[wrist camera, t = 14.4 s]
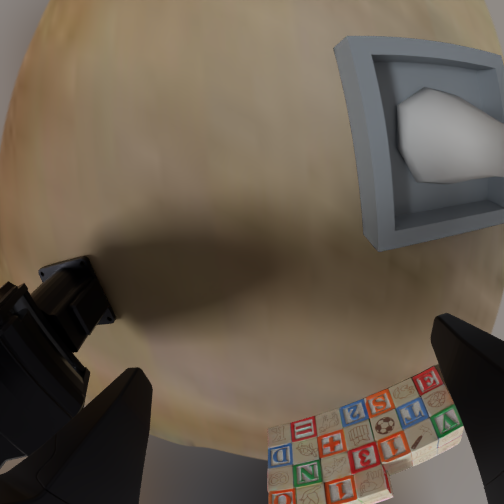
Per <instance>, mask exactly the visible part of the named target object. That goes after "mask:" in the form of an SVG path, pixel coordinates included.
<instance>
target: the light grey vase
mask: <svg viewBox="0 0 504 504" xmlns="http://www.w3.org/2000/svg"><path fill="white" fill-rule="evenodd" d="M397 148H398V150H399V152H400V153H401V155H402V157H403V159H404V160H405V162H406V164H407V166H408V168H409V170H410V171H411V173H412V175H413V177H414V179H415V181H416V182H420V183H434V184H445V185H447V184H454V183H458V182H463V181H467V180H472V179H480V178H487V177H494V176H498V177H504V124H503V123H501V122H499V121H498V120H496V119H495V118H493V117H491V116H490V115H488V114H486V113H485V112H483V111H481V110H480V109H478V108H476V107H475V106H473V105H472V104H470V103H469V102H467V101H465V100H464V99H462V98H460V97H458V96H456V95H454V94H451V93H447V92H443V91H440V90H436V89H432V88H427V87H423V88H422V89H420V90H419V91H417V92H416V93H414V94H413V95H412V96H410V97H409V98H407V99H406V100H404V101H403V102H401V103H400V104H399V105H397Z"/></svg>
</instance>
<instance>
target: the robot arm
mask: <svg viewBox="0 0 504 504" xmlns="http://www.w3.org/2000/svg"><path fill="white" fill-rule="evenodd" d="M83 262H84V263H85V264H84V263H83ZM39 275H40V278H41V280H42V282H43V283H42V284H41V285H40V286H39V287H38V288H37V289H36V290H35V291H34V292H33V293H32V294H31V295H30V293H29V292H28V288H27V286H26V285H25V283H23V284H21V285H20V286H18V287H17V286H16V285H13V284H12V283H10V282H9V281H8V282H7V283H6V284H4V285H3V286H2V287H1V288H0V468H1V467H2V466H3V465H4V463H5V462H6V461H8V460H12V459H18V458H22V457H26V456H28V457H27V458H26V459H24V460H23V461H22V462H20V463H19V464H18V465H16V466H15V467H13V468H12V469H11V470H9V471H8V472H6V473H4V474H1V475H0V504H139V495H140V488H141V481H142V474H143V467H144V461H145V455H146V448H147V443H148V436H149V430H150V417H151V404H152V392H153V389H152V385H151V383H150V381H149V380H148V378H147V377H146V375H145V374H144V372H143V371H142V369H140V368H138V367H136V368H127V369H126V370H125V371H124V372H123V373H122V374H121V375H120V376H118V377H117V378H116V379H115V380H114V381H113V382H112V383H111V384H110V385H109V386H108V387H106V388H105V389H104V390H103V391H102V392H101V393H100V394H99V395H98V396H97V397H95V398H94V399H93V400H92V401H91V402H90V403H89V404H88V405H87V406H86V407H84V403H85V397H86V392H87V386H88V381H89V377H90V371H89V370H88V369H87V368H86V367H84V366H83V365H82V364H81V362H80V361H79V360H78V359H77V358H76V357H75V355H74V354H73V353H74V352H78V350H79V349H80V347H81V346H82V344H83V342H84V341H85V339H86V338H87V336H88V335H90V334H91V333H92V331H93V329H94V328H95V326H96V325H101V324H111V323H114V321H115V320H116V316H115V314H114V312H113V310H112V308H111V306H110V304H109V302H108V300H107V298H106V296H105V294H104V292H103V290H102V288H101V286H100V284H99V281H98V279H97V277H96V275H95V273H94V270H93V268H92V266H91V264H90V261H89V259H88V258H87V257H85V256H83V257H79V258H75V259H71V260H67V261H64V262H60V263H56V264H53V265H49V266H45V267H42V268H41V269H40V270H39ZM110 317H111V318H110ZM431 344H432V347H433V349H434V352H435V355H436V357H437V360H438V363H439V366H440V369H441V372H442V375H443V378H444V380H445V383H446V386H447V388H448V390H449V393H450V395H451V397H452V399H453V402H454V404H455V406H456V409H457V411H458V413H459V416H460V418H461V421H462V423H463V426H464V428H465V431H466V433H467V436H468V439H469V442H470V445H471V447H472V450H473V453H474V456H475V459H476V462H477V465H478V468H479V471H480V475H481V478H482V481H483V485H484V489H485V493H486V497H487V500H488V504H504V341H502V340H501V339H498V338H497V337H495V336H493V335H491V334H489V333H487V332H485V331H483V330H481V329H479V328H477V327H475V326H473V325H471V324H469V323H467V322H465V321H463V320H461V319H459V318H457V317H455V316H453V315H451V314H448V313H444V314H441V315H438V316H436V317H435V319H434V323H433V328H432V333H431Z"/></svg>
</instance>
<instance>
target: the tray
mask: <svg viewBox="0 0 504 504" xmlns="http://www.w3.org/2000/svg"><path fill="white" fill-rule="evenodd" d="M333 49H334V52H335V56H336V60H337V64H338V68H339V72H340V77H341V81H342V85H343V90H344V95H345V99H346V104H347V109H348V115H349V120H350V126H351V132H352V138H353V144H354V150H355V157H356V164H357V172H358V180H359V189H360V199H361V209H362V221H363V235H364V236H365V237H366V238H367V239H368V240H369V241H370V243H371V244H372V245H373V246H374V247H375V248H376V250H377V251H378V252H381V251H386V250H390V249H395V248H400V247H404V246H409V245H413V244H418V243H422V242H427V241H431V240H436V239H440V238H444V237H449V236H453V235H457V234H461V233H466V232H470V231H474V230H478V229H482V228H486V227H490V226H494V225H499V224H503V223H504V177H498V176H494V177H487V178H480V179H472V180H467V181H463V182H458V183H454V184H447V185H445V184H434V183H420V182H416V181H415V179H414V177H413V175H412V173H411V171H410V170H409V168H408V166H407V164H406V162H405V160H404V159H403V157H402V155H401V153H400V152H399V150H398V148H397V105H399V104H400V103H401V102H403V101H404V100H406V99H407V98H409V97H410V96H412V95H413V94H414V93H416V92H417V91H419V90H420V89H422V88H423V87H427V88H432V89H436V90H440V91H443V92H447V93H451V94H454V95H456V96H458V97H460V98H462V99H464V100H465V101H467V102H469V103H470V104H472V105H473V106H475V107H476V108H478V109H480V110H481V111H483V112H485V113H486V114H488V115H490V116H491V117H493V118H495V119H496V120H498V121H499V122H501V123H503V124H504V66H503V61H502V57H501V56H500V55H497V54H493V53H490V52H486V51H482V50H478V49H474V48H469V47H465V46H460V45H454V44H449V43H443V42H436V41H429V40H421V39H412V38H400V37H384V36H346V37H345V38H344V39H343V40H342V41H341V42H340V43H339V44H337V45H336V46H335V47H334V48H333Z"/></svg>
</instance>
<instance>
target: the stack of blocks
mask: <svg viewBox="0 0 504 504" xmlns="http://www.w3.org/2000/svg"><path fill="white" fill-rule="evenodd" d="M463 429H464V426H463V423H462V421H461V418H460V416H459V413H458V411H457V409H456V406H455V404H454V403H453V400H452V398H451V396H450V394H449V392H448V390H447V388H446V386H445V384H443V381H442V379H441V377H440V375H439V374H438V372H437V370H436V368H435V367H434V366H433V367H431V368H429V369H428V370H426V371H424V372H422V373H420V374H418V375H416V376H414V377H413V378H409V379H407V380H405V381H403V382H400V383H398V384H396V385H394V386H392V387H390V388H388V389H385V390H383V391H380V392H378V393H376V394H373V395H371V396H368V397H366V398H364V399H361V400H359V401H356V402H354V403H351V404H348V405H346V406H343V407H340V408H338V409H335V410H332V411H329V412H326V413H323V414H320V415H317V416H313V417H309V418H306V419H303V420H299V421H296V422H292V423H288V424H284V425H280V426H277V427H273V428H269V429H268V475H267V478H268V480H267V483H268V485H267V487H268V492H269V504H375V503H378V502H381V501H384V500H387V499H390V498H393V497H394V495H393V491H392V486H391V481H390V476H391V475H393V474H396V473H398V472H401V471H403V470H406V469H408V468H410V467H412V466H416V465H418V464H420V463H422V462H424V461H426V460H429V459H431V458H433V457H435V456H436V455H438V454H441V453H442V452H444V451H446V450H448V449H450V448H452V447H454V446H456V445H457V444H459V443H460V440H461V437H462V433H463Z"/></svg>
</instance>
